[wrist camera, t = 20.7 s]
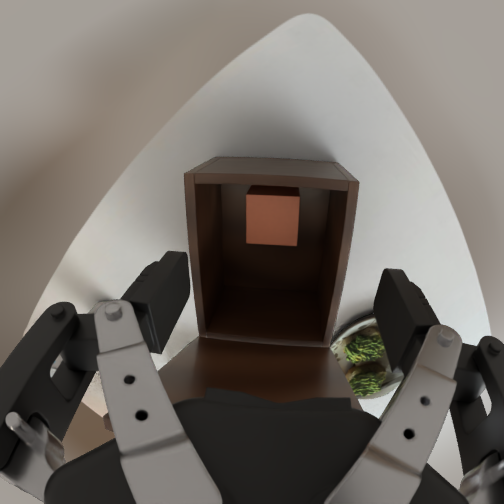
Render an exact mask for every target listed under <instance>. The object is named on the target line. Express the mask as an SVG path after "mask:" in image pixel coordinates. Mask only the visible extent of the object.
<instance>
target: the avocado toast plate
mask: <svg viewBox="0 0 504 504" xmlns="http://www.w3.org/2000/svg"><path fill="white" fill-rule="evenodd" d="M330 348H331V350H332V352H333V354H334V356H335V357H336V359H337V361H338V363H339V365H340V367H341V369H342V371H343V373H344V374H345V376H346V378H347V380H348V382H349V384H350V386H351V388H352V390H353V392H354V394H355V396H356V397H357V399H373V398H378V397H382V396H384V395H386V394H388V393H389V392H391V391H392V390H394V389H395V388H396V387H397V386H399V384H400V383H401V381H402V379H403V377H404V374H403V373H392V371H391V368H390V364H389V361H388V357H387V354H386V350H385V347H384V344H383V341H382V337H381V334H380V331H379V328H378V325H377V322H376V319H375V316H374V314H370V315H367V316H365V317H362V318H360V319H358V320H356V321H354V322H353V323H352V324H350V325H349V326H347V327H346V328H344V329H343V330H342V331H341V332H340V333H339V335H338V336H337V338H336V340H335V341H334V342H333V343H332V344H331V345H330Z"/></svg>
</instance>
